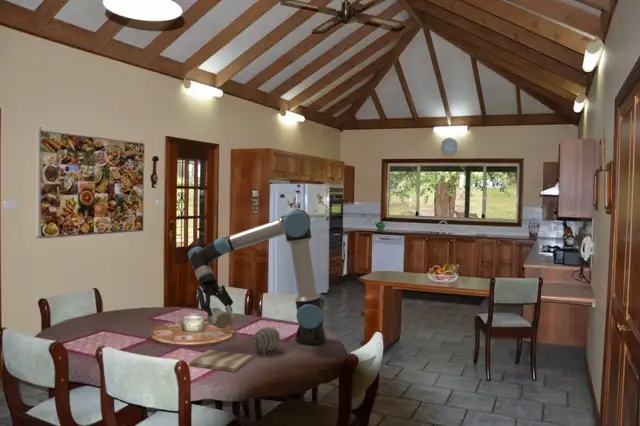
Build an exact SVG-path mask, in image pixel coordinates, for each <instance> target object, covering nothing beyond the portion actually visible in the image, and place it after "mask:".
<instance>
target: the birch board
mask: <svg viewBox="0 0 640 426" xmlns="http://www.w3.org/2000/svg"><path fill="white" fill-rule="evenodd" d="M252 359H253V358H252V354H246V353H236V352H230V351H223V350H216V349H208V350H206V351H205V352H203V353H202V354H200V355H198V356H197V357H194V358H193V359H192V360H190V361H189V362H188V366H190V367H196V368H203V369H210V370H218V371H225V372H232V373H235V372H236V371H238V370H239V369H240V368H242V367H243V366H244V365H246V364H247V363H248V362H249V361H251V360H252Z"/></svg>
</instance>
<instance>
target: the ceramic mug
mask: <svg viewBox="0 0 640 426" xmlns="http://www.w3.org/2000/svg"><path fill="white" fill-rule="evenodd" d="M212 309H213V311H214V313H215V316H216V318H217V321H216V322H215V323H214V324H213V322H212V320H211V317H210V316H208V315H207V317H206V318H207V319H206V320H207V322H208V324H209V325H211V326H213V327H215V328H217V329H225V328H227V327H228V326H230V327H232V326H233V324H234V322H233V320H232V321H230V317H229V315H228V314H227V312H226V311H224V310H222V309H221V308H219V307H214V308H212Z"/></svg>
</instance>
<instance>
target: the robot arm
mask: <svg viewBox="0 0 640 426" xmlns="http://www.w3.org/2000/svg"><path fill="white" fill-rule="evenodd" d="M311 221H312V220H311V217H310V215H309V214H308V213H307V212H306V211H305V210H302V209H294V210H291V211H289V212H288V213H286V214H284V215H282V216H279V219H277V220H273V221H270V222H267V223H264V224H261V225H258V226H256V227H252V228H249V229H247V230H244V231H240V232H238V233H234V234H231V235H228V236H220V237H218V238H217V239H215V240H214V241H212V242H210V243H209V244H207V245H206V246H205V247H201V246H195V247H192V248H191V249H189V251H188V253H187V257H188V259H189V264H190V265H191V267H192V270H193V272H194V275H195V277H196V279H197V282H198V285H199V288H197V289H196V291H195V293H196V295H197V297H198V301H199V306H200V309H201V310H202V311H204V312H206V313H207V316H210V317H211V320H212V322H213V324H214V323H215V322H216V321H217V318H216V316H215V313H214V311H213V309H214V308H213V307H212V306H211V297H212V296H214V297H215V298H217V299H218V300H219V301H220V303H222V305H223V306H224V307H225V308H224V309H225V312H226V313H227V314H228V315H229V317H230V321H232V322H233V320H234V318H235V316H234V313H233V311H234V310H233V309H232V305H233V303H234V301H233V299H232V298H231V296H230V294H229V293H228V291H227V290H226V286H225V285H224V284H223V285H222V286H221V285H220V286H219V284H218V283H217V280H216V276H215V275H214V272H213V270H212V267H211V265H210V263H212V262H214V261H216V260H217V259H218V258H220V257H221V256H223V255H226V254H229V253H231V252H234V251H237V250H240V249H243V248H246V247H249V246H252V245H255V244H258V243H259V244H260V243H261V242H265V241H268V240H272V239H274V238H277V237H281V236H284V235H285V240H286V242H287V243H288V244H289V245H290V252H291V258H292V265H293V271H294V277H295V279H294V280H295V284H296V291H297V297H296V298H295V306H296V315H295V316H296V317H295V318H296V321H297V323H298V327H297V330H296V333H295V336H294V340H295V342H296V343H298V344H301V345H307V346H319V345H323V344H325V343H326V342H327V336H326V331H325V327H324V314H325V313H324V312H325V310H324V309H325V300H326V299H325V296H324V294H320V293H318V292H317V288H316V280H315V274H314V267H313V261H312V255H311V247H310V240H311V239H312V231H311V223H312V222H311ZM204 294H205V295H204Z"/></svg>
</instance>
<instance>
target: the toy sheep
mask: <svg viewBox="0 0 640 426" xmlns="http://www.w3.org/2000/svg"><path fill="white" fill-rule="evenodd" d="M280 334H281V333H280V332H279V331H278V330H277V328H275V327H270V326H269V327H262V328H260V329H259V330H257V331H256V332H255V334H253V340H252V341H251V342H250V343H251V345H254V346H255V353H256V354H258V353H259V352H260V351H262V355H263V356H265V355H266V352H271V351H272V350H273V349H274V350H273V351H274V352H277V351H278V345H279V342H280Z"/></svg>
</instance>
